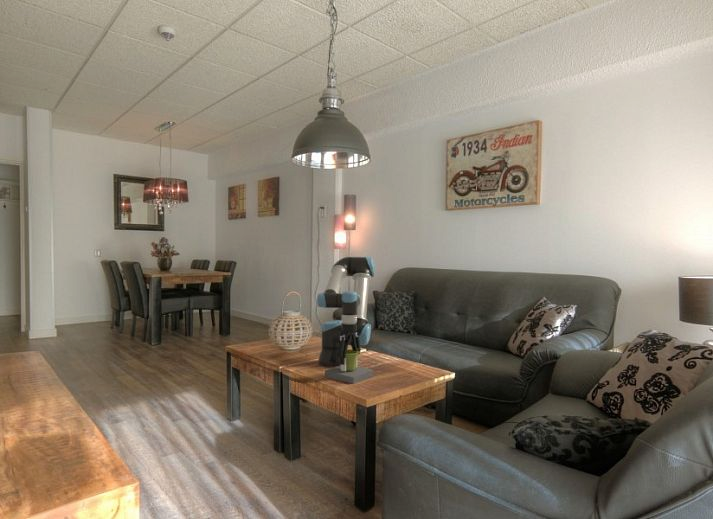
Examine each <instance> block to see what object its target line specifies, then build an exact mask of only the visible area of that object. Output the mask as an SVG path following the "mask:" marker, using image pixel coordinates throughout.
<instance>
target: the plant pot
mask: <svg viewBox="0 0 713 519" xmlns="http://www.w3.org/2000/svg"><path fill="white" fill-rule="evenodd" d="M358 353H359V352H358V351H353V350H352V349H347V351H346V354H345V358H346V370H348V371H352V370H354V369H355V367H356V360H357V355H358V356H359V354H358ZM357 361H358V360H357Z"/></svg>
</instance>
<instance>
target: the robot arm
mask: <svg viewBox="0 0 713 519" xmlns="http://www.w3.org/2000/svg"><path fill="white" fill-rule="evenodd" d="M330 273H331V275H330V277H329V279H328V282H327V284H326V286H325V290H324V292H320V293H318V294H317V297H316V303H317V304H316V305H317V307H318V308H324V309H327V308H330V309H341V319H333V320H329V321H326V322H323V323H322V326H321V349H320V350H321V351H320V354H319V358H318V365H320V364H321V365H320V366H323V367H338V366H341V371H346V358H345V354H346V351H347V350H348V347H349V346H351V350H353V351H358V352H359V353H358V355H357V360H356V368H357V367H358V360H359V355H360V353H361V351H362V350H361V346H366V345H368V344H369V342H370V338H371V332H372V326H371V324H370V323H369V320H368V319H367V311H368V298H369V288H370V287H369V284H370V282H371V281H372V279H373V278H374V277H375V276H376V274H375V265H374V259H373V258H372V257H371V256H370V257H369V256H345V257H342V258H341V259H339V260H338V261H336V262H335V263H334V264H333V266H332V267H331V271H330ZM346 277H351V278H352V280H353V291H351V290H350V291H347V290H346V291H343V292H342V293H340V291H341V287H342V284H343V281H344V279H345V278H346Z"/></svg>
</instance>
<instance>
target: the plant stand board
mask: <svg viewBox="0 0 713 519" xmlns="http://www.w3.org/2000/svg"><path fill="white" fill-rule="evenodd" d="M324 377H325V378H329V379H332V380H337V381H340V382H344V383H349V384H357V383H359V382H362V381H364V380H368V379H370V378H372V377H374V369H371V368H365V367H362V366H357V368H356V367H355V369H354V370H352V371H348V370H346V371H341V366H334V367H331V368H329V369H325V370H324Z"/></svg>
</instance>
